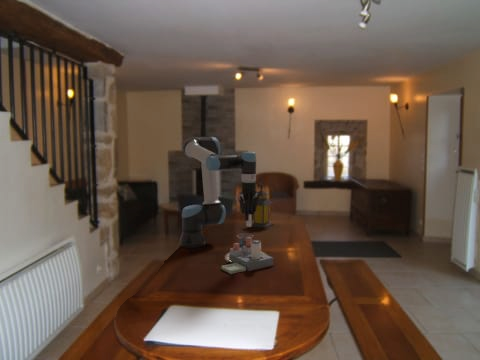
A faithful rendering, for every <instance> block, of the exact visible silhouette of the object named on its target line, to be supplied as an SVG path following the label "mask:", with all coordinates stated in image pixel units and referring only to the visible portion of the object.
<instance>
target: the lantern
mask: <svg viewBox="0 0 480 360" xmlns="http://www.w3.org/2000/svg"><path fill="white" fill-rule="evenodd" d="M259 188H260V190H259V191H258V192H256V193H257V194H260V196H259V198H258V203H257V208H256V212H254V214H253V222H251V225H252V227H255V228H259V229H260V228H261V229H267V228H269V227H272V226H274V223H273V222H270V221H269V219H270V214H269V213H270V212H269V211H270V207H269V206H270V205H272V204H274V202H273V201H271V200H270V199H268V197H267V196H268V194H267V193H266V192H265V191H264V190H263V188H264V184H263V183H261V184H259Z"/></svg>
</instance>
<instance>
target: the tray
mask: <svg viewBox="0 0 480 360" xmlns="http://www.w3.org/2000/svg"><path fill="white" fill-rule="evenodd" d="M221 270H222V271H224V272H226V273H228V274H229V275H234V274H237V273H240V272H242V273H243V272H246V271H247V270H246V267H244V266H242V265H240V264H237V263H230V264H225V265H224V264H223V265H221Z"/></svg>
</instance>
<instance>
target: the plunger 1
mask: <svg viewBox="0 0 480 360" xmlns="http://www.w3.org/2000/svg"><path fill="white" fill-rule="evenodd" d="M232 246H233V247H232V248H233V250H239V242H234V243H233V244H232Z"/></svg>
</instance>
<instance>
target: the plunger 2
mask: <svg viewBox="0 0 480 360" xmlns="http://www.w3.org/2000/svg"><path fill="white" fill-rule="evenodd" d="M252 241H253V239H252V238H251V237H246V247H251V242H252Z"/></svg>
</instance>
